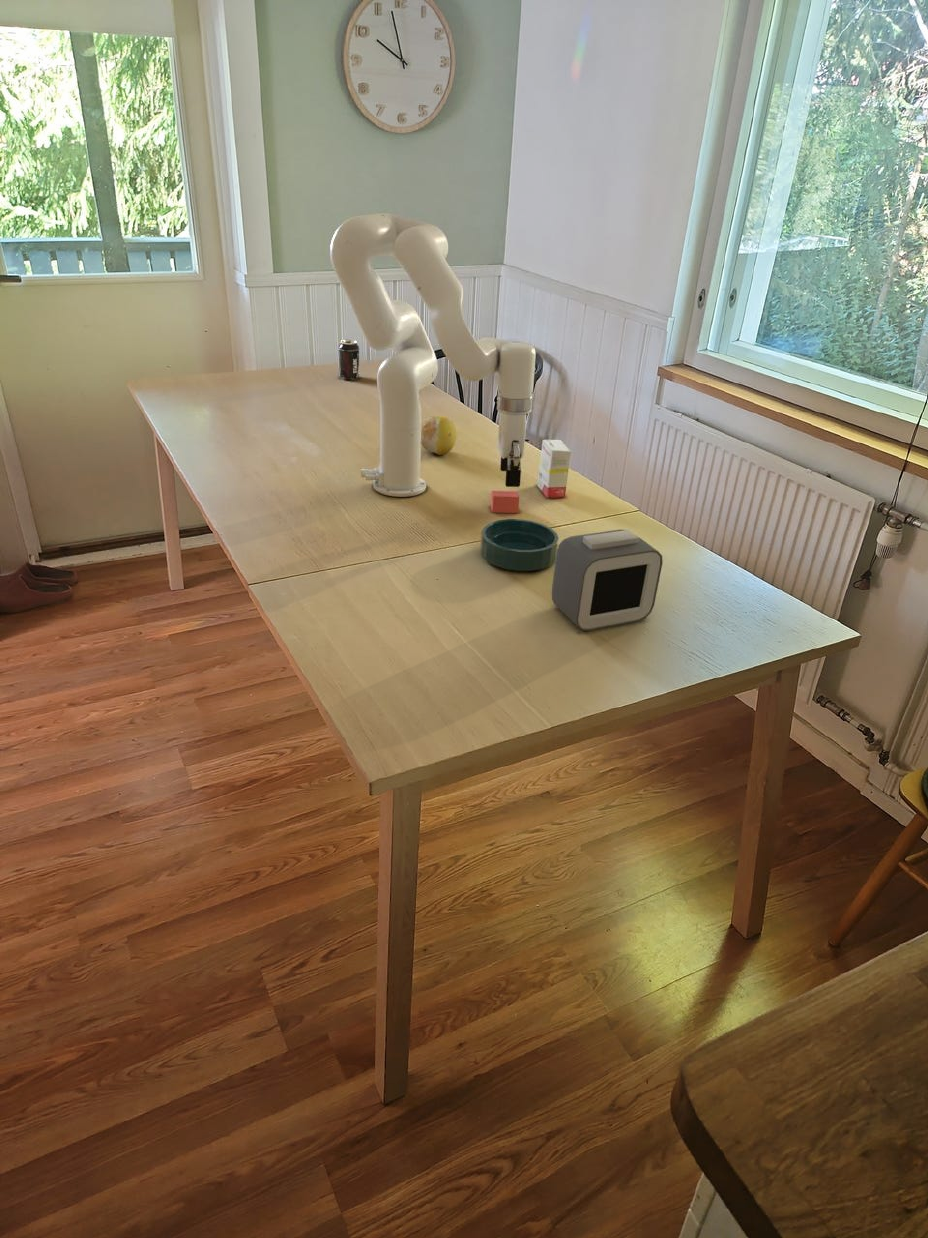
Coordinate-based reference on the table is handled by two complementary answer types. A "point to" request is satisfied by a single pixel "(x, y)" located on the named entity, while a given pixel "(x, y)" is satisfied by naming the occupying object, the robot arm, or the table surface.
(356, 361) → the beverage can
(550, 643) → the table surface
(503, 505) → the eraser
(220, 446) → the table surface
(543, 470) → the ink box
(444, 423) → the fruit
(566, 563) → the alarm clock
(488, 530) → the bowl
